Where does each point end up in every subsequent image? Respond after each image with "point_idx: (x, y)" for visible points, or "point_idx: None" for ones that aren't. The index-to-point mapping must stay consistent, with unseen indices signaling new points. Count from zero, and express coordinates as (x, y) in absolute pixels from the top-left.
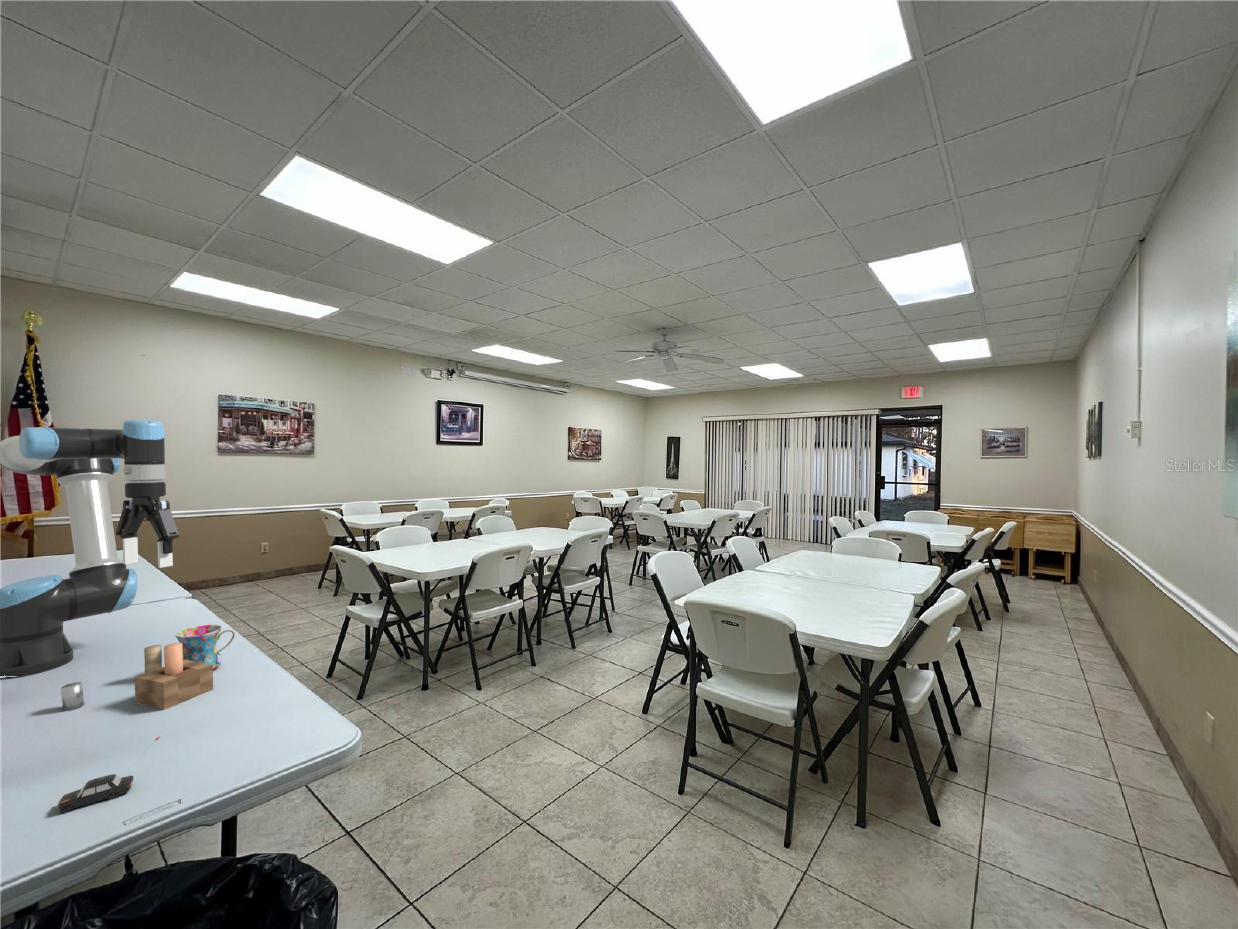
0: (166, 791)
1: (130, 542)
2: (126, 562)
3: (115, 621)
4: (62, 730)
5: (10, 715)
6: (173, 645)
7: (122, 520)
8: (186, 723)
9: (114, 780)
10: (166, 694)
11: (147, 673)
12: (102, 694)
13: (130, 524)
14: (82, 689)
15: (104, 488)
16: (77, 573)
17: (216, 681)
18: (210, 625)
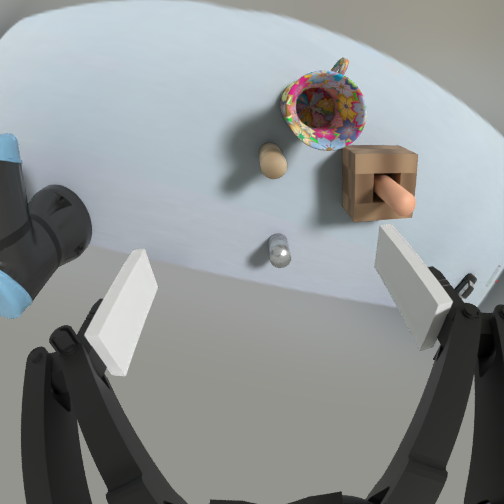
0: (489, 265)
1: (121, 341)
2: (155, 288)
3: None
4: (336, 266)
5: (231, 276)
6: (405, 204)
7: (81, 463)
8: (442, 211)
9: (473, 287)
10: None
11: (359, 208)
12: (264, 210)
13: (150, 457)
14: (285, 246)
15: None
16: None
17: (377, 125)
18: (308, 77)
